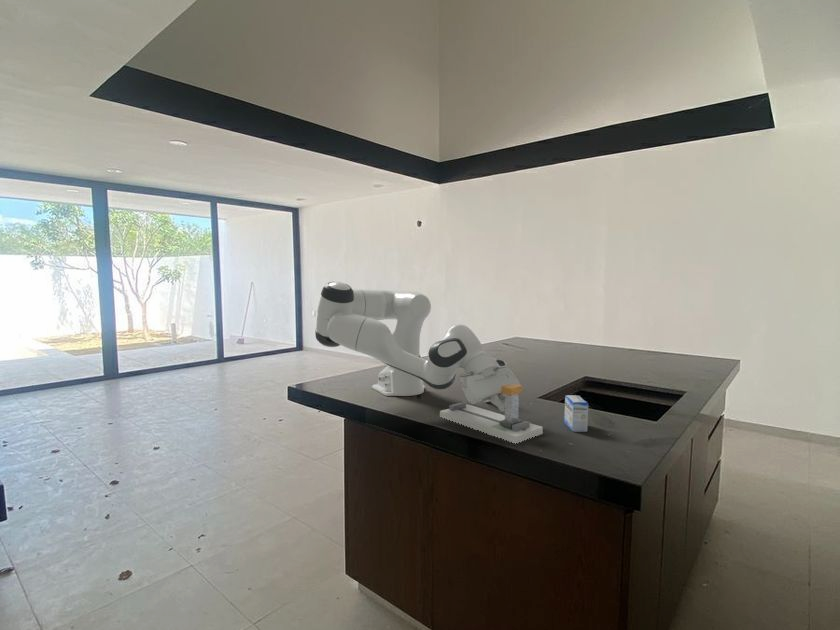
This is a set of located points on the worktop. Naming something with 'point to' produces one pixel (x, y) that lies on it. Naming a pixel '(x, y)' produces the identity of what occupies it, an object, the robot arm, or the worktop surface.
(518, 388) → the fader lever
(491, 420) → the fader console
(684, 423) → the worktop surface
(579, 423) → the medicine box
